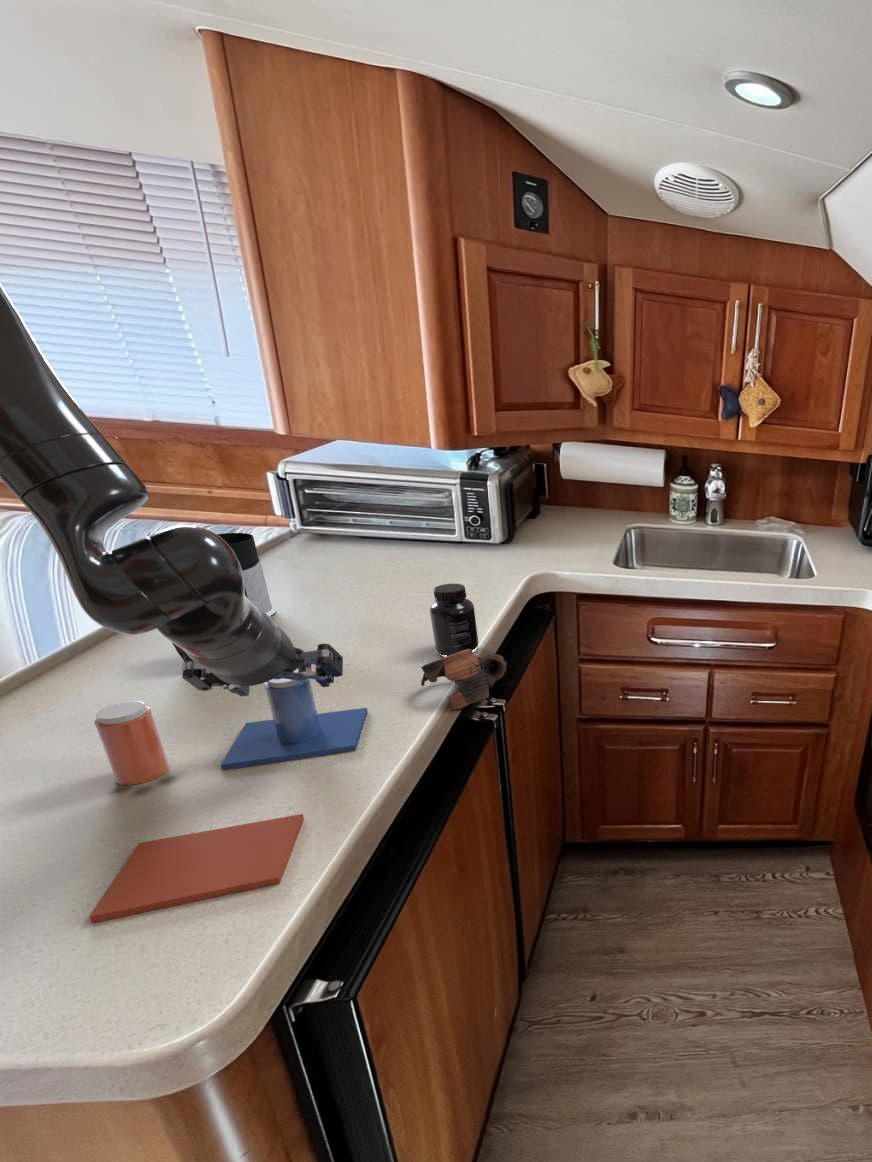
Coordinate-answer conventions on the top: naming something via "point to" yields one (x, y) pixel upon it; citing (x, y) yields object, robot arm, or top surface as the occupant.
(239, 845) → the terracotta mat
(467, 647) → the supplement bottle
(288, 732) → the cylinder
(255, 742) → the blue mat
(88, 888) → the top surface
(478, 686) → the pottery mug
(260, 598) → the grey coffee mug
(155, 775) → the cylinder
